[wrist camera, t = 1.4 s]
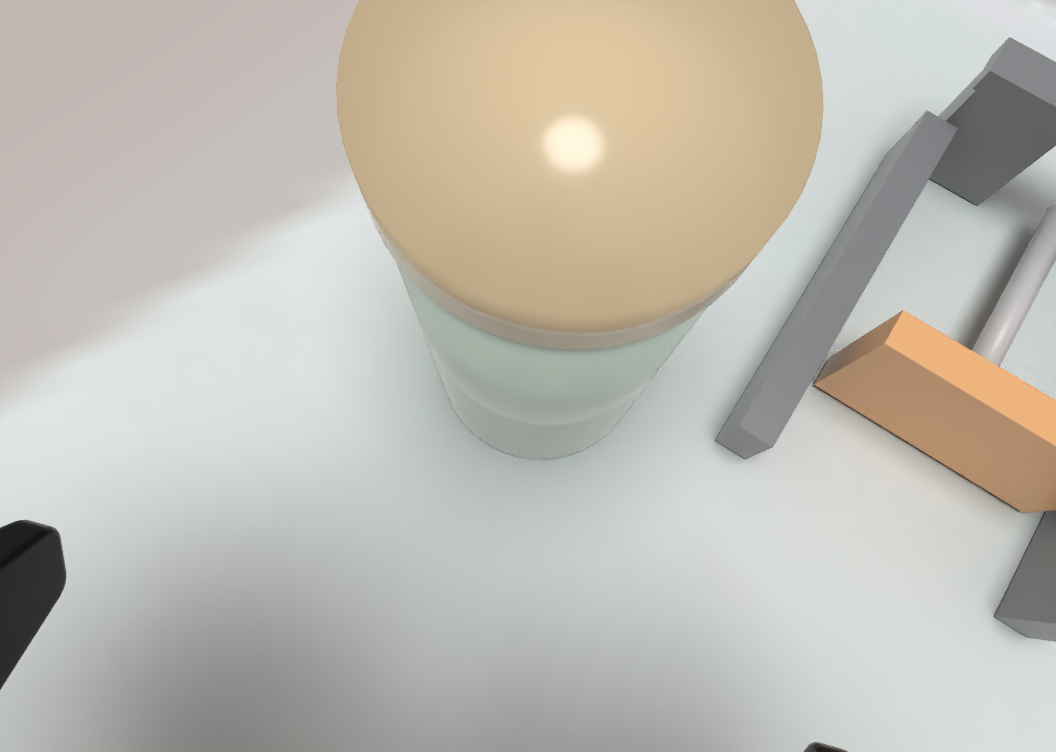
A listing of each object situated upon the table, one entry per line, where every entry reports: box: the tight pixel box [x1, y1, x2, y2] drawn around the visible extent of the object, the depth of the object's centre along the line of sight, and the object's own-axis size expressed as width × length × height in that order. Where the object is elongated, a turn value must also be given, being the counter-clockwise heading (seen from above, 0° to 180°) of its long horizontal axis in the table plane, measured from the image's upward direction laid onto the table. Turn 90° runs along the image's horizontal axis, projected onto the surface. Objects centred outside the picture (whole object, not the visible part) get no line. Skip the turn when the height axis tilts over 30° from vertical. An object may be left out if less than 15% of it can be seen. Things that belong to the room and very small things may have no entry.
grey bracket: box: [715, 37, 1056, 641], centre depth 21 cm, size 12×10×5 cm
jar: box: [336, 0, 823, 460], centre depth 17 cm, size 6×6×14 cm
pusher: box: [814, 206, 1056, 513], centre depth 21 cm, size 8×7×4 cm
